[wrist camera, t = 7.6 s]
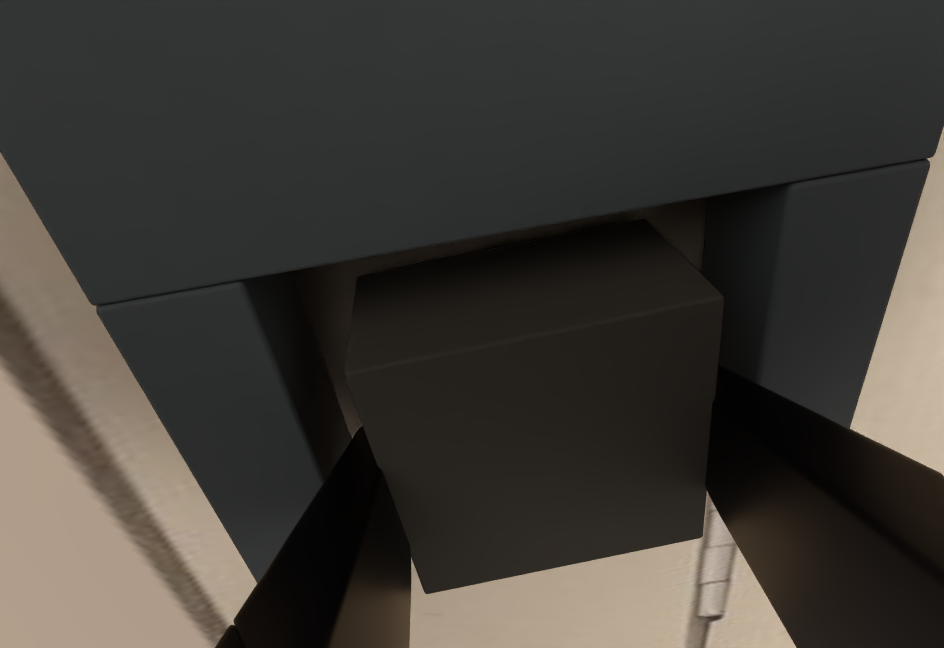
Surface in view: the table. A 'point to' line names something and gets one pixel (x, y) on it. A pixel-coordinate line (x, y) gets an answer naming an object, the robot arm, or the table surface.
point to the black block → (539, 400)
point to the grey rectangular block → (453, 180)
